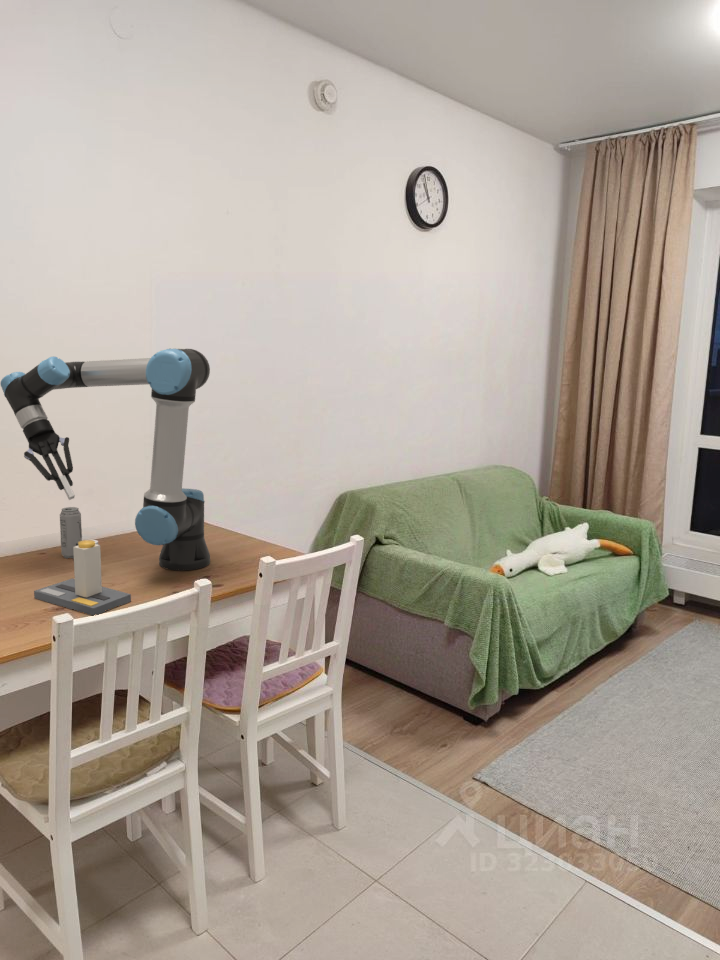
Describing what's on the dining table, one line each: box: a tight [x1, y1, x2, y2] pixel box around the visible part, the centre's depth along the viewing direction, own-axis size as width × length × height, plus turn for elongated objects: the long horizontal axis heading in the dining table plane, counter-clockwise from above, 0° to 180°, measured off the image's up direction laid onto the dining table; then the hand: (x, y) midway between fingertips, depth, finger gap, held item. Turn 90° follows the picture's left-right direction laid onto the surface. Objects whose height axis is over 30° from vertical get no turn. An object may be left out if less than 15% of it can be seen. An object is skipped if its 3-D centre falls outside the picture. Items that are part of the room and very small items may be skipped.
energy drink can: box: [59, 506, 83, 559], centre depth 221 cm, size 6×6×15 cm
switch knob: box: [73, 539, 103, 598], centre depth 184 cm, size 4×5×14 cm
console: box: [33, 578, 132, 616], centre depth 187 cm, size 22×12×2 cm, turn 61°
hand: (71, 497), depth 202 cm, fingers closed
